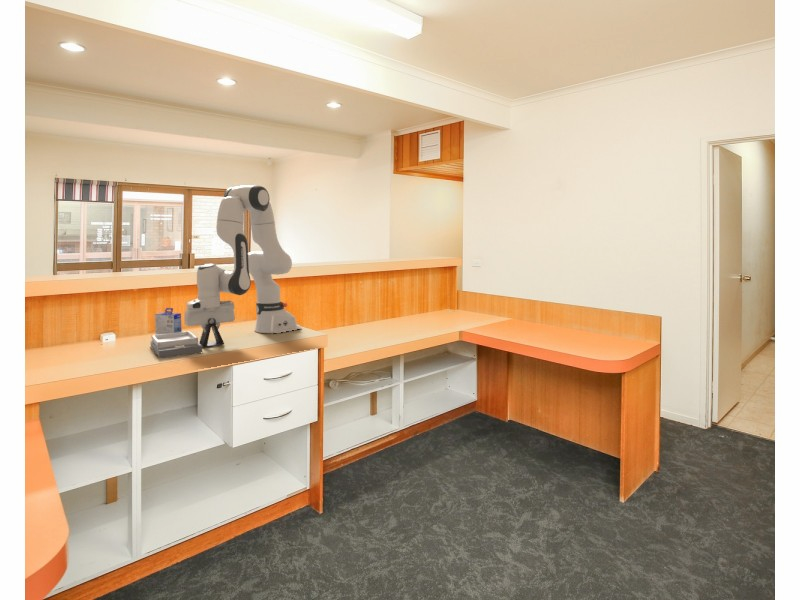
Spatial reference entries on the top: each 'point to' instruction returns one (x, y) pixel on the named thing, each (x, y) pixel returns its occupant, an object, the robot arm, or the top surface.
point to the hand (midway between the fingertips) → (211, 333)
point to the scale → (175, 344)
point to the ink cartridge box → (168, 322)
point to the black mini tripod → (205, 335)
